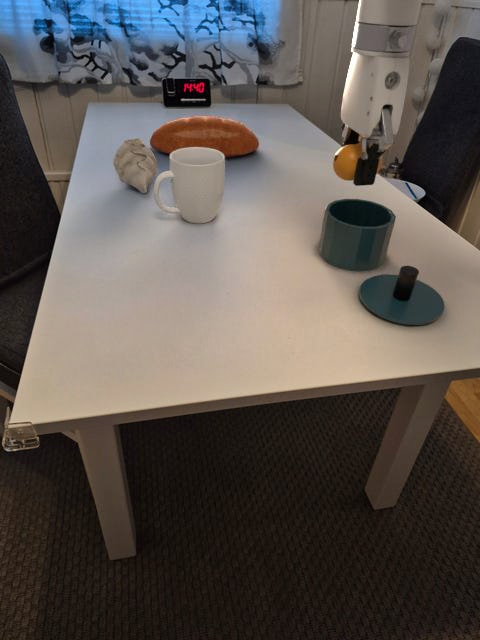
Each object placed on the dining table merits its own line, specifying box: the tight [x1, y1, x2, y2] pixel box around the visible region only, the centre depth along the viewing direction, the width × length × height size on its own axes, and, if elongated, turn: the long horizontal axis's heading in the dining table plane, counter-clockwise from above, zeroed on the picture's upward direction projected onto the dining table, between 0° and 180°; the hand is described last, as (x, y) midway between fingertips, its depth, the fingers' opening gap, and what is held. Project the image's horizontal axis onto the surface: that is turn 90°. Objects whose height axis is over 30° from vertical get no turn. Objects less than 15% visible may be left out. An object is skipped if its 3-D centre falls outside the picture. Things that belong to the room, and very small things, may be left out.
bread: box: [149, 115, 260, 158], centre depth 128 cm, size 23×32×9 cm
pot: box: [318, 198, 397, 272], centre depth 83 cm, size 12×12×8 cm
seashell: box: [112, 138, 158, 195], centre depth 105 cm, size 10×15×10 cm
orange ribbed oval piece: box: [332, 143, 384, 181], centre depth 68 cm, size 8×5×5 cm
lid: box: [358, 265, 445, 326], centre depth 71 cm, size 13×13×6 cm
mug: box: [152, 147, 226, 224], centre depth 91 cm, size 15×11×13 cm
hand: (355, 176), depth 69 cm, fingers closed on orange ribbed oval piece, 5 cm apart
